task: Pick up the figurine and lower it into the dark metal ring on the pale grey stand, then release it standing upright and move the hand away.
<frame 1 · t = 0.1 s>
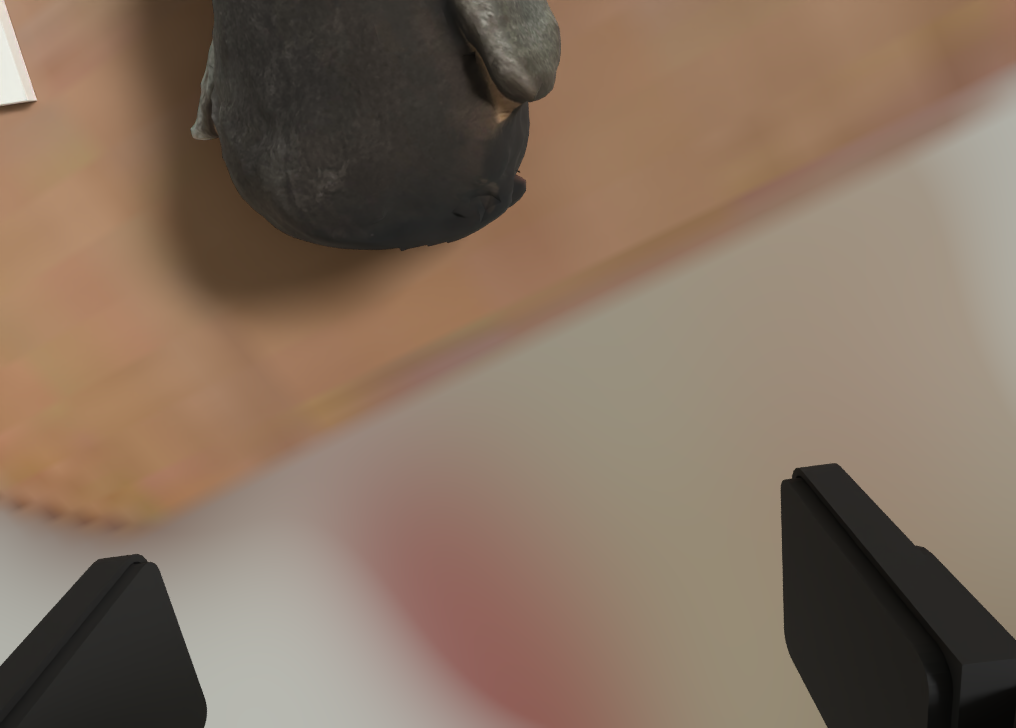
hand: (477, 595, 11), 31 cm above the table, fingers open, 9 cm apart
dark grey rounded piece: (388, 36, 37), on the table
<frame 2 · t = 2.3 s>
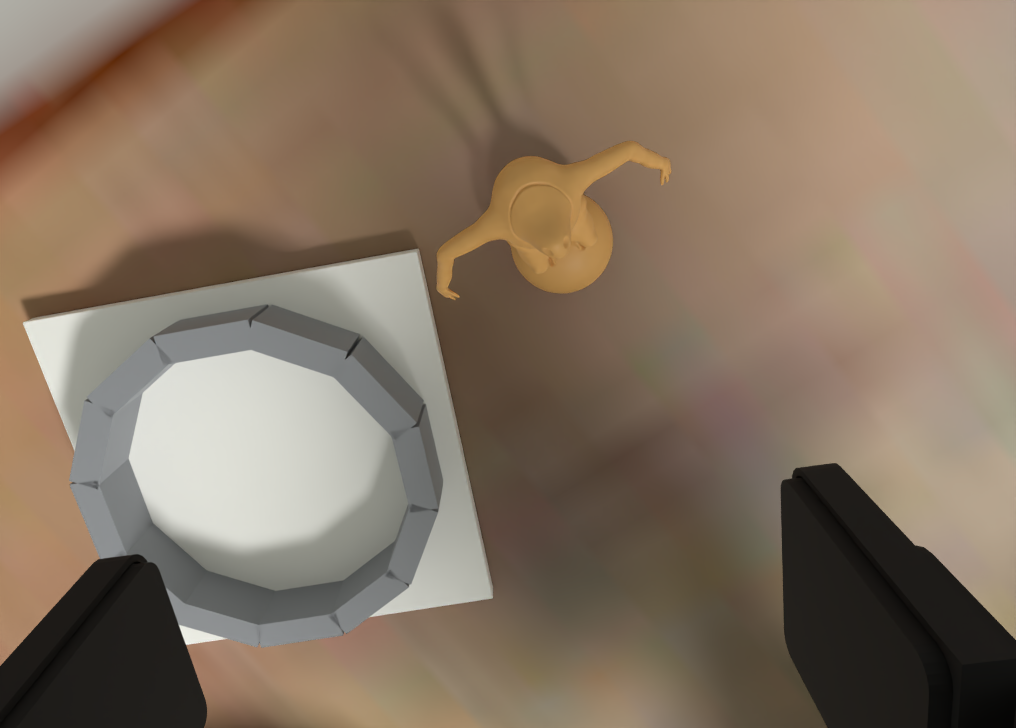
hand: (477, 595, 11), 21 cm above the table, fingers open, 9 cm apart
figurine: (546, 212, 30), on the table
ring stand: (278, 461, 34), on the table
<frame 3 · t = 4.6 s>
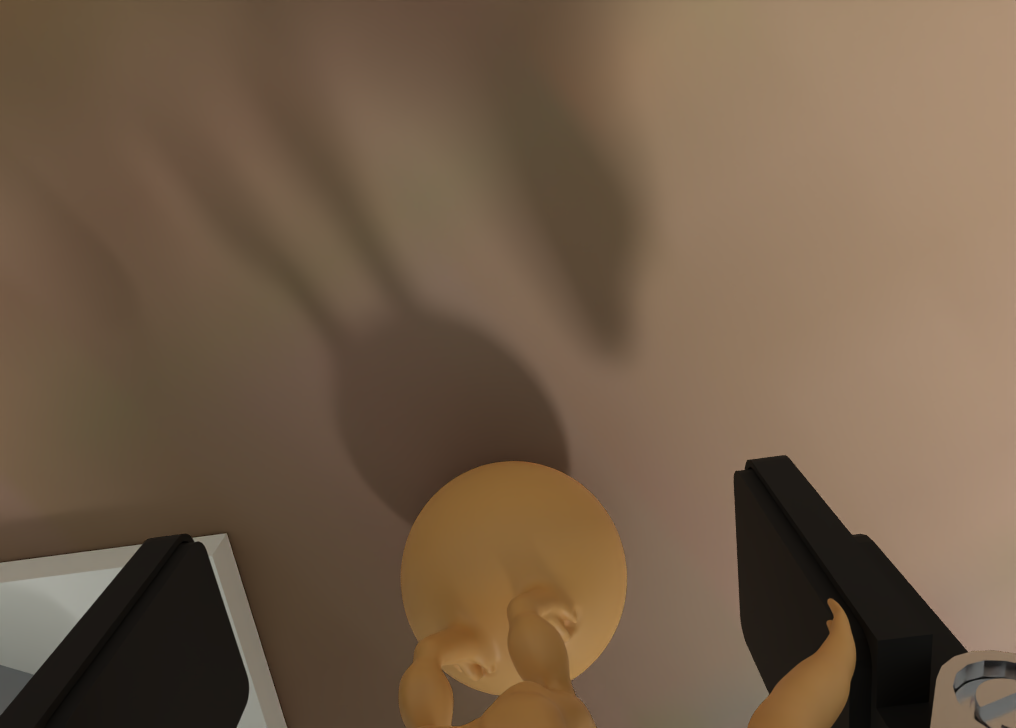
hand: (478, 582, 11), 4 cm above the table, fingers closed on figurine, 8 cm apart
figurine: (487, 471, 15), on the table, touching gripper
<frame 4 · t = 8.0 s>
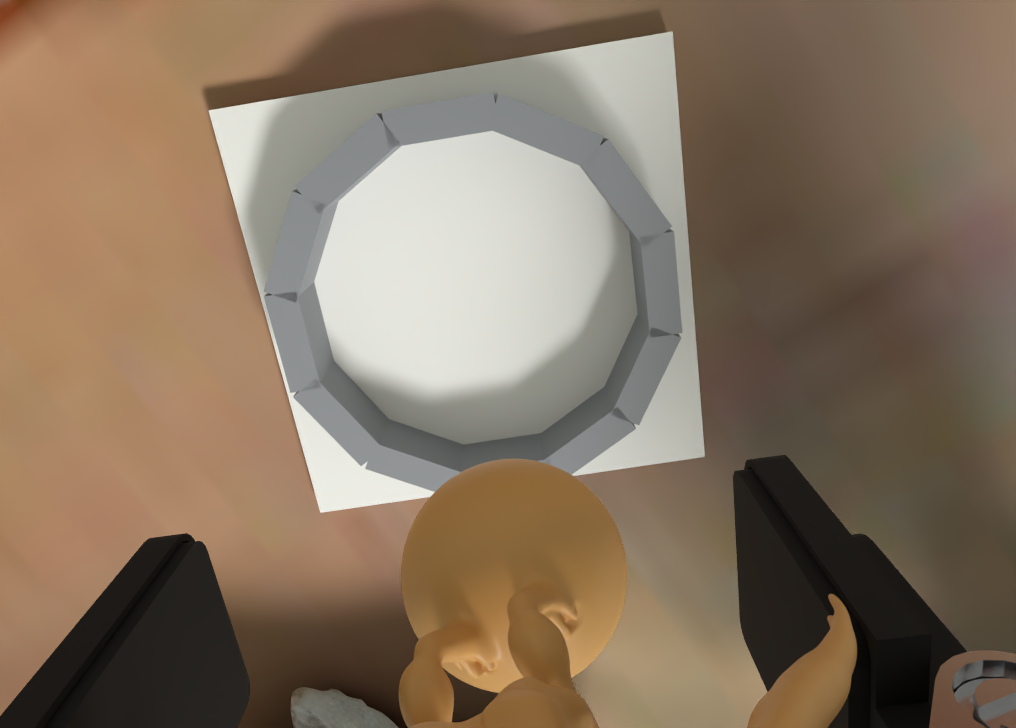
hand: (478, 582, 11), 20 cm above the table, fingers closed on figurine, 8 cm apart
figurine: (487, 469, 15), point 16 cm above the table, touching gripper
ring stand: (478, 293, 30), on the table
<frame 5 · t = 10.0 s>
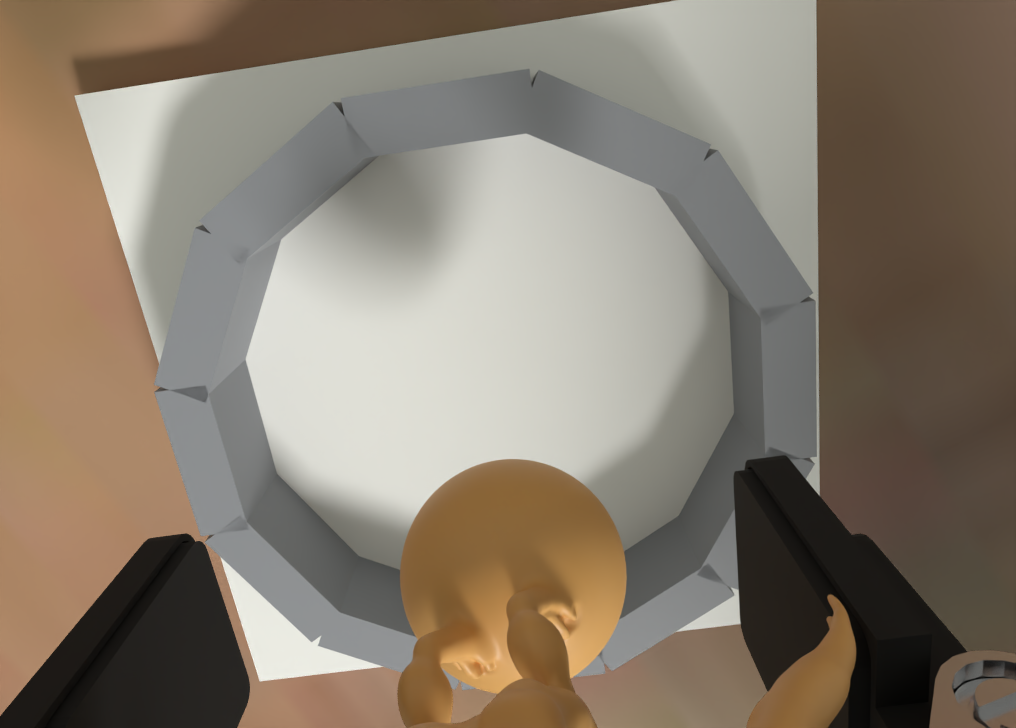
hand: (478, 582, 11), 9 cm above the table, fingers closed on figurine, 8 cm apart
figurine: (487, 470, 15), point 6 cm above the table, touching gripper
ring stand: (493, 376, 20), on the table
when the fingers open (6 cm above the table, at t = 11.4 s): figurine drops 1 cm, resting on ring stand.
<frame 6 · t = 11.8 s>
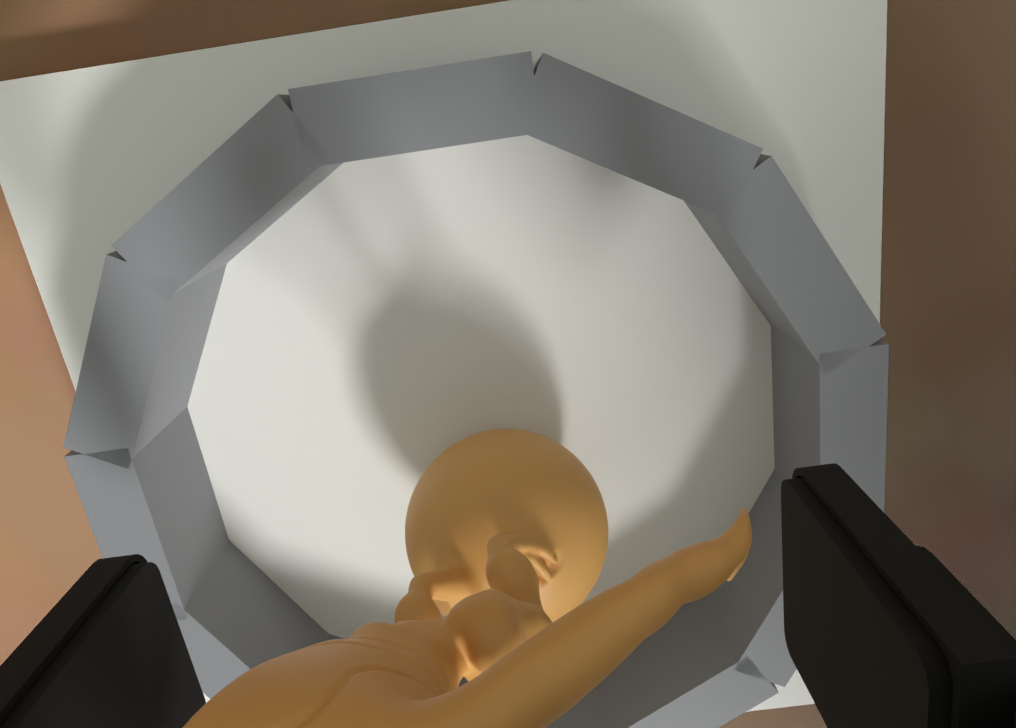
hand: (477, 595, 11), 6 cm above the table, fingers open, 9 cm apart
figurine: (484, 443, 16), point 1 cm above the table, touching ring stand
ring stand: (487, 423, 17), on the table
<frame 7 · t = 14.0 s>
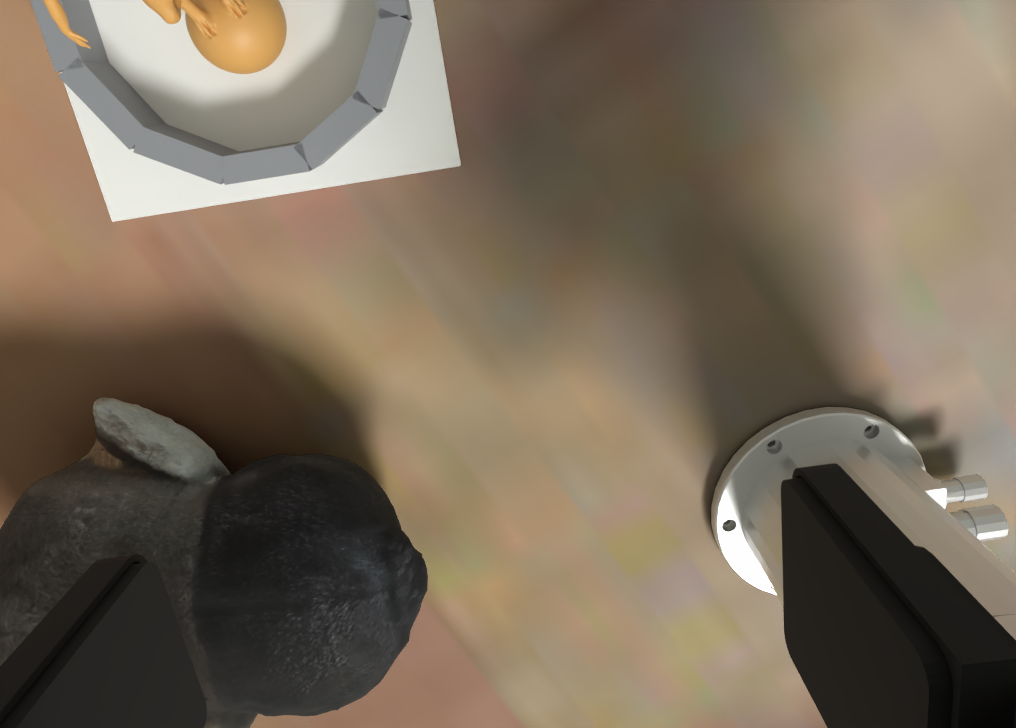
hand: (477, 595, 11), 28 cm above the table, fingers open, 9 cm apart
figurine: (236, 4, 32), point 1 cm above the table, touching ring stand
ring stand: (241, 0, 33), on the table
dark grey rounded piece: (237, 525, 43), on the table
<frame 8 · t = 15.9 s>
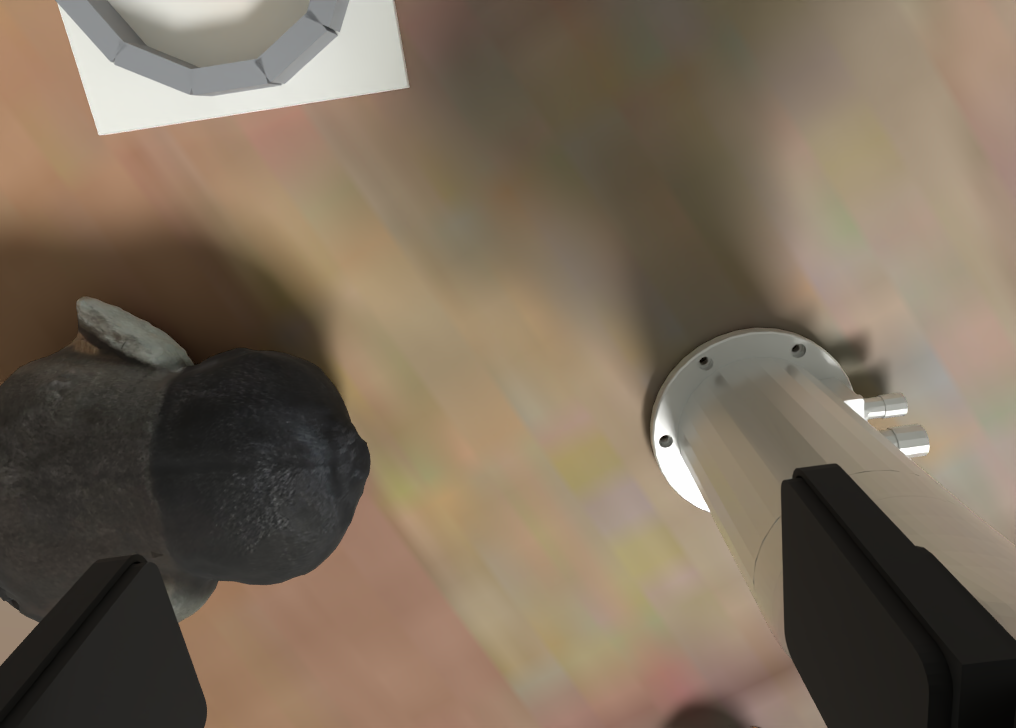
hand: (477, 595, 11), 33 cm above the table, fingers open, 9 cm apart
dark grey rounded piece: (209, 430, 47), on the table
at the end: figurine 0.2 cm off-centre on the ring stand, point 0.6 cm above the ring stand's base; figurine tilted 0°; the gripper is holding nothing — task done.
